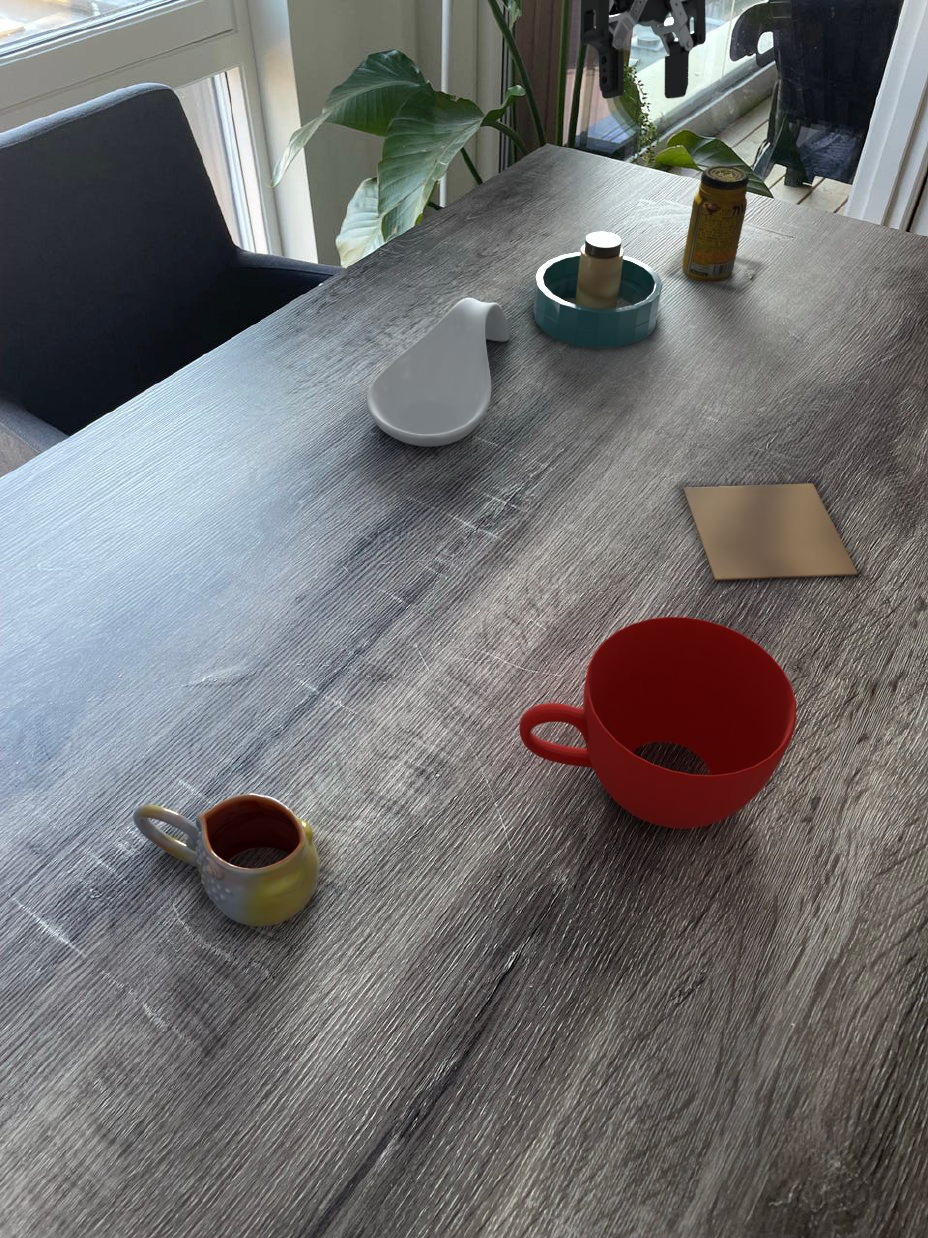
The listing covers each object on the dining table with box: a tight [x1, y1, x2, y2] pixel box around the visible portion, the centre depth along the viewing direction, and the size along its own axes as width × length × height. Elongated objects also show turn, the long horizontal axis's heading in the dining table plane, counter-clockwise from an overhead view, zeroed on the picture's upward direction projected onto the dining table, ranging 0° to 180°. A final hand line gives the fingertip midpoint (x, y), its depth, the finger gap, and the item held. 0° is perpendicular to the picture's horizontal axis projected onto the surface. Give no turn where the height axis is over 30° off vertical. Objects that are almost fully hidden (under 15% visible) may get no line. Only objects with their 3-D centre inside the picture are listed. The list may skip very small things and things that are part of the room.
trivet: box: [682, 483, 859, 581], centre depth 86 cm, size 12×12×1 cm
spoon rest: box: [365, 297, 511, 448], centre depth 99 cm, size 24×12×7 cm, turn 160°
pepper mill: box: [574, 231, 625, 309], centre depth 108 cm, size 5×5×9 cm
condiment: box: [681, 164, 756, 283], centre depth 115 cm, size 7×8×12 cm
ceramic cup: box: [518, 616, 797, 830], centre depth 65 cm, size 13×17×10 cm
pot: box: [532, 251, 663, 349], centre depth 110 cm, size 14×14×5 cm
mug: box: [132, 791, 321, 928], centre depth 61 cm, size 12×7×7 cm, turn 69°
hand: (644, 97), depth 95 cm, fingers open, 8 cm apart
